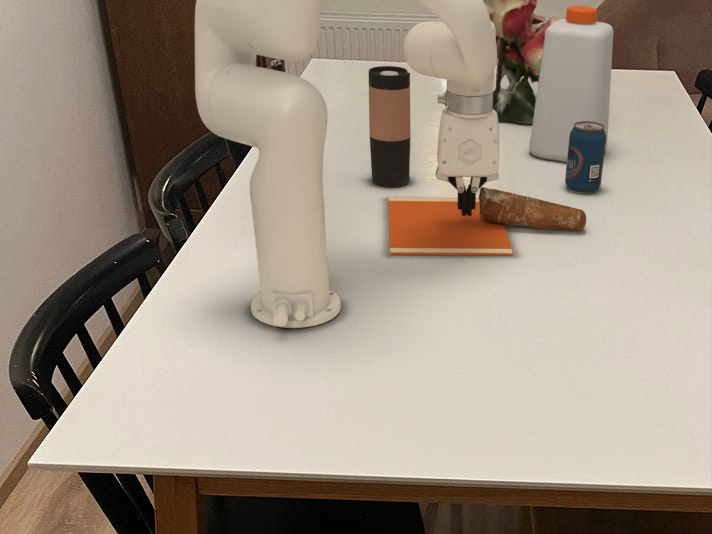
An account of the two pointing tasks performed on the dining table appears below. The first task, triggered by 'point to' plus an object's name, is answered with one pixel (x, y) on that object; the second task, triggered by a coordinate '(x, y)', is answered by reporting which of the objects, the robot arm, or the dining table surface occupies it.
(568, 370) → the dining table surface
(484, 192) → the bread
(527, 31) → the rose bouquet
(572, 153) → the soda can
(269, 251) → the robot arm
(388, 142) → the travel mug
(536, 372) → the dining table surface
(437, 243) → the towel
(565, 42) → the plastic bottle
